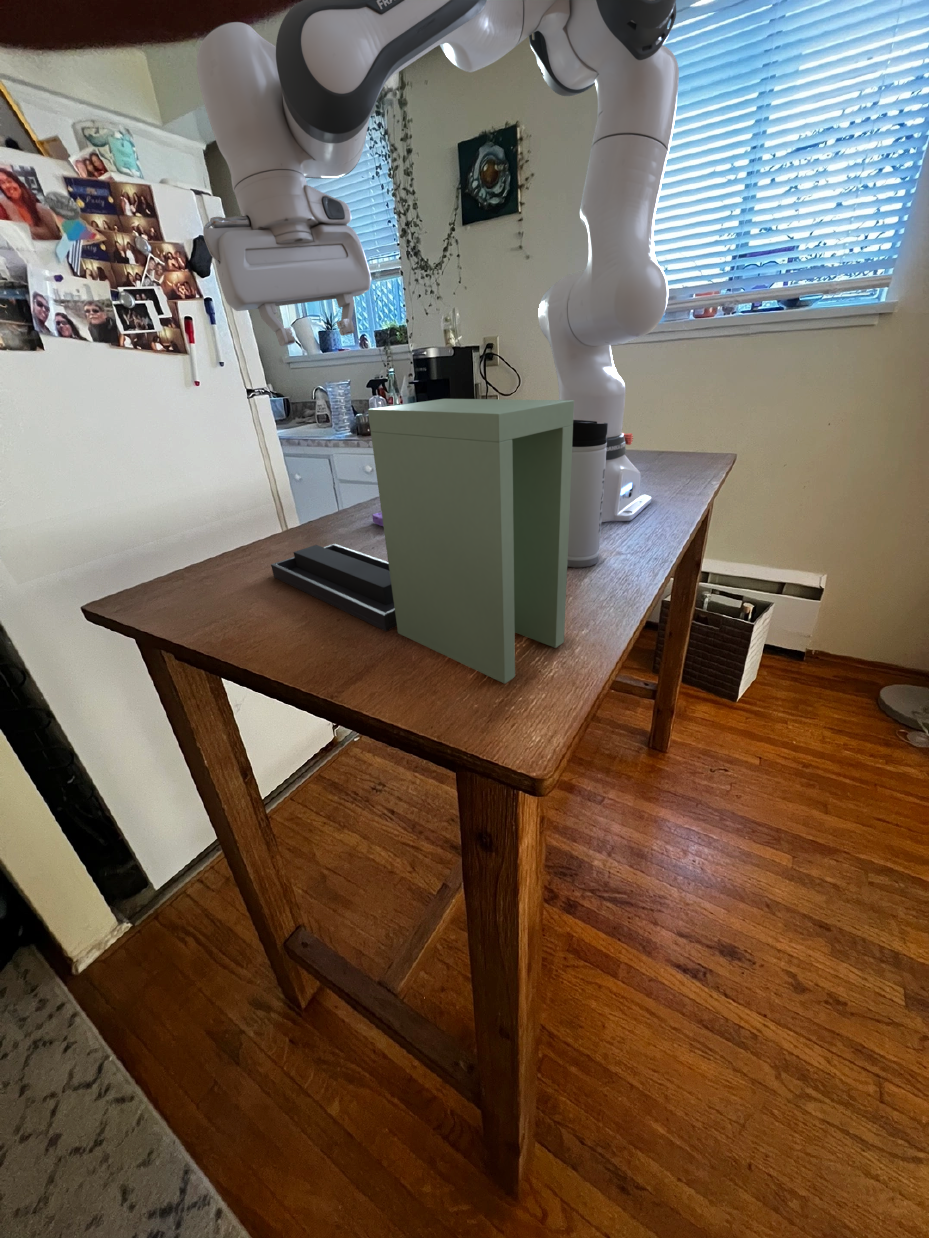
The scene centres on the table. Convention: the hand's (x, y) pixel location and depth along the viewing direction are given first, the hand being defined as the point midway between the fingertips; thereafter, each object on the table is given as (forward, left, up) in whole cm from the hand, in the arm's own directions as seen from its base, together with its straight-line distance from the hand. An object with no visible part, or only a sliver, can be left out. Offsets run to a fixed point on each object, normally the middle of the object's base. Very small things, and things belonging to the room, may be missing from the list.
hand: (319, 339), depth 68 cm
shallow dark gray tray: (+8, +12, -31) cm, 34 cm away
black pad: (+8, +10, -30) cm, 33 cm away
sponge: (-18, -7, -31) cm, 37 cm away
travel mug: (-18, +31, -31) cm, 47 cm away
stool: (+8, +35, -31) cm, 47 cm away
